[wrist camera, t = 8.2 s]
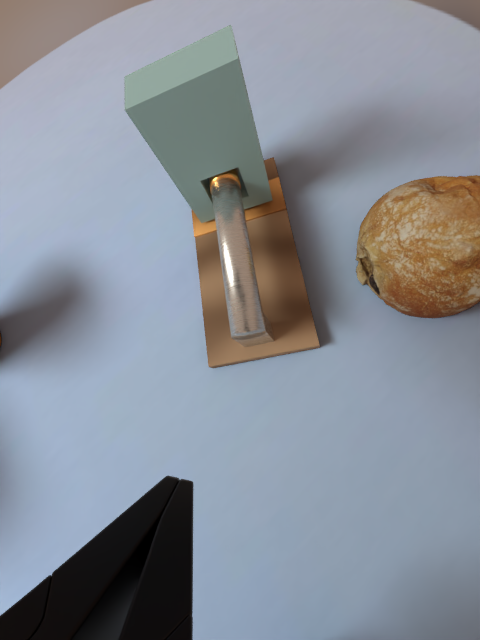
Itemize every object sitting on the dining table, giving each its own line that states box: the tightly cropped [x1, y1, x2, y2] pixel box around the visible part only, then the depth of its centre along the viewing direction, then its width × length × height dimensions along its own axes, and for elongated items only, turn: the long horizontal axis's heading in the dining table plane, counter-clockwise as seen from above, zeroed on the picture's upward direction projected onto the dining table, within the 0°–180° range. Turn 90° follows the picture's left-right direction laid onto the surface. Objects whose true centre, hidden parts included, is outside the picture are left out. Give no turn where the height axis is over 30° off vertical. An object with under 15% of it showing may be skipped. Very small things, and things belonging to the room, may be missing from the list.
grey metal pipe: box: [209, 167, 274, 347], centre depth 22 cm, size 18×3×5 cm, turn 9°
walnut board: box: [192, 157, 320, 368], centre depth 25 cm, size 19×9×1 cm, turn 9°
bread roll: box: [356, 175, 480, 318], centre depth 19 cm, size 10×10×8 cm
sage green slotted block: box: [125, 25, 273, 223], centre depth 21 cm, size 3×7×11 cm, turn 98°
